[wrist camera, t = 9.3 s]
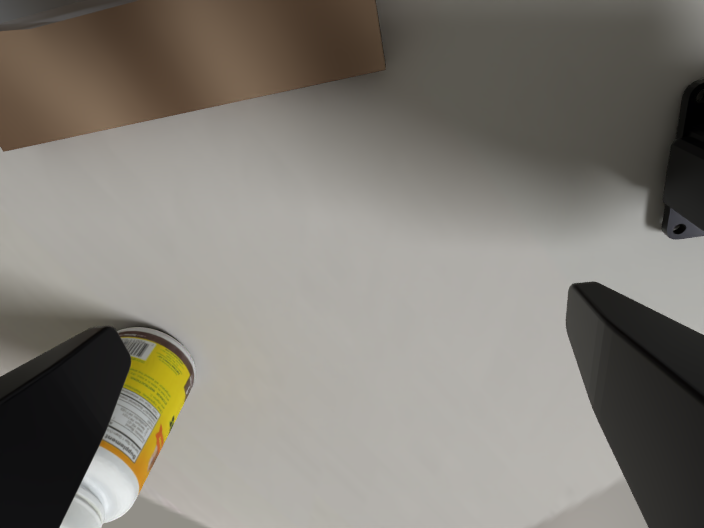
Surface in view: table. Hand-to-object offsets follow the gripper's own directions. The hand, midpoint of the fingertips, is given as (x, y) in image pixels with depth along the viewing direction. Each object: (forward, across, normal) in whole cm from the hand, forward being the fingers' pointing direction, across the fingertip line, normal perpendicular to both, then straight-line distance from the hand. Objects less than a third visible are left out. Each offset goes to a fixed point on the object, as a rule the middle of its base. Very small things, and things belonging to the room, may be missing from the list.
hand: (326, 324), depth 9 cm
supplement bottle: (+12, +14, +10) cm, 21 cm away
